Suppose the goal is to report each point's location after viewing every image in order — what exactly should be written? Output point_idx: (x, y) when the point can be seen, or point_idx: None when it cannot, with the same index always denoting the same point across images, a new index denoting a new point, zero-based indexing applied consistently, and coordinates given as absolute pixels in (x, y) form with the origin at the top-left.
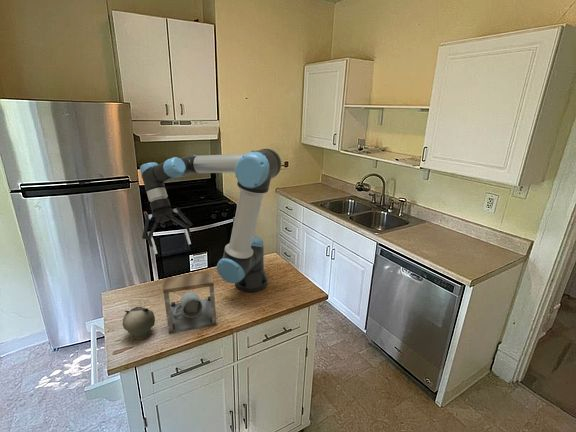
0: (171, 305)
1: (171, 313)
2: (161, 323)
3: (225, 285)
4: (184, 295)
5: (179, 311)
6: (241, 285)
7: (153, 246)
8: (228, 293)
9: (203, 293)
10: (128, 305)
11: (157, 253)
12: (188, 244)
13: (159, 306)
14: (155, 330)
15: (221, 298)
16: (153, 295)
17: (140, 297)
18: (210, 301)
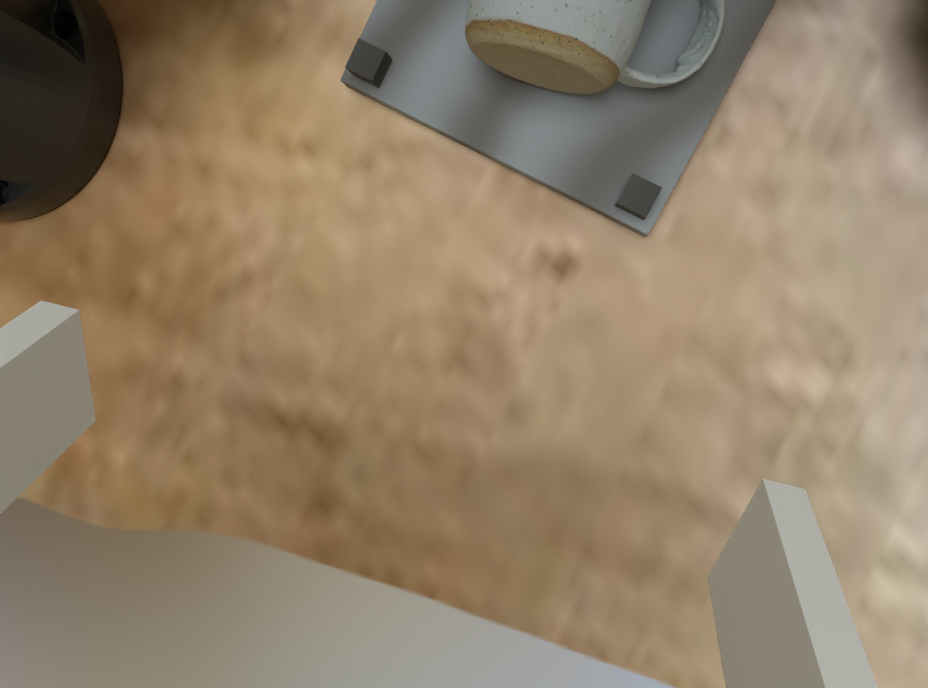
0: (658, 188)
1: (704, 101)
2: (809, 71)
3: (163, 210)
4: (593, 5)
5: None
6: (77, 29)
7: (861, 644)
8: (208, 88)
9: (352, 229)
10: (898, 508)
11: (764, 479)
12: (91, 400)
13: (709, 308)
14: (889, 14)
15: (285, 62)
16: (670, 499)
17: None
18: (380, 42)
